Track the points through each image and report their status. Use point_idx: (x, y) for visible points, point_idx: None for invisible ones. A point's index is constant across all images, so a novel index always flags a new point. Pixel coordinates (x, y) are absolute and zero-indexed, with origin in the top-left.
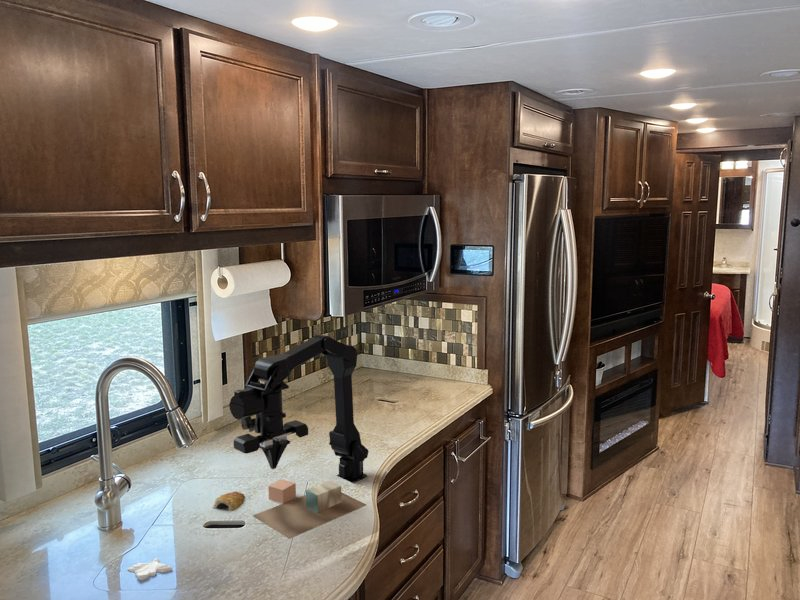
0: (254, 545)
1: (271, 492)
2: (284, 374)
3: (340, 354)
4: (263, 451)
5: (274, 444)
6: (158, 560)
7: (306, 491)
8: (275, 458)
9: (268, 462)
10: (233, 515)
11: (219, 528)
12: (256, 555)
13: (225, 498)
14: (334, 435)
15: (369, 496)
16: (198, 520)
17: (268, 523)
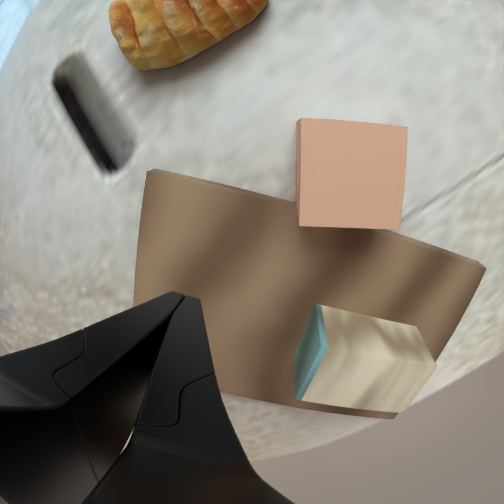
0: (75, 286)
1: (299, 139)
2: None
3: None
4: (15, 359)
5: None
6: None
7: (318, 349)
8: (130, 428)
9: (133, 309)
10: (143, 79)
11: (65, 123)
12: (60, 316)
13: (139, 10)
14: None
15: (459, 377)
16: (69, 27)
17: (144, 265)
